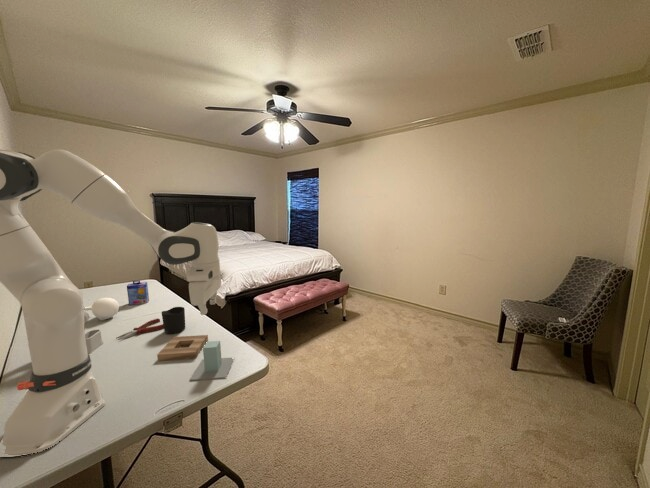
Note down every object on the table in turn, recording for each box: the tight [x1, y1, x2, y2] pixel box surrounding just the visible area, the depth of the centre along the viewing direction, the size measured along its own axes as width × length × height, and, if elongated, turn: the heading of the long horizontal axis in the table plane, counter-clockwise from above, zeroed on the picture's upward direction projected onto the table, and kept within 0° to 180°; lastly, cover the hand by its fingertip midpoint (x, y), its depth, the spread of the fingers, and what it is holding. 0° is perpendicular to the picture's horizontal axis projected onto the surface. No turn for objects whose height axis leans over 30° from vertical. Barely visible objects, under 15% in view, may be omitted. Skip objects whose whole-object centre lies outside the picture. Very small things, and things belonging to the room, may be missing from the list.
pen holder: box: [161, 306, 186, 335], centre depth 126 cm, size 9×9×10 cm
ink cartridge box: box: [126, 280, 150, 306], centre depth 164 cm, size 10×6×14 cm, turn 115°
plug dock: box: [156, 334, 209, 362], centre depth 108 cm, size 14×14×2 cm
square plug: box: [202, 340, 222, 372], centre depth 95 cm, size 4×4×9 cm
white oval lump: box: [84, 297, 120, 321], centre depth 142 cm, size 12×12×15 cm
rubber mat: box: [189, 357, 234, 382], centre depth 95 cm, size 12×12×1 cm
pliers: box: [115, 318, 164, 341], centre depth 126 cm, size 12×20×3 cm, turn 148°
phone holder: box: [84, 311, 105, 355], centre depth 108 cm, size 17×10×18 cm, turn 100°
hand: (208, 308), depth 92 cm, fingers open, 8 cm apart
